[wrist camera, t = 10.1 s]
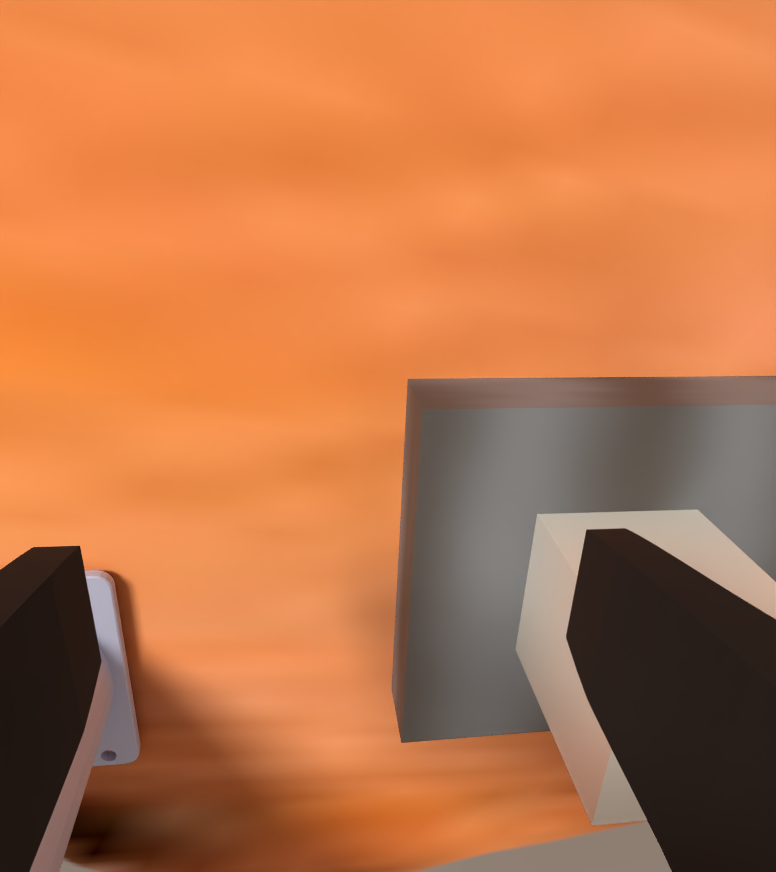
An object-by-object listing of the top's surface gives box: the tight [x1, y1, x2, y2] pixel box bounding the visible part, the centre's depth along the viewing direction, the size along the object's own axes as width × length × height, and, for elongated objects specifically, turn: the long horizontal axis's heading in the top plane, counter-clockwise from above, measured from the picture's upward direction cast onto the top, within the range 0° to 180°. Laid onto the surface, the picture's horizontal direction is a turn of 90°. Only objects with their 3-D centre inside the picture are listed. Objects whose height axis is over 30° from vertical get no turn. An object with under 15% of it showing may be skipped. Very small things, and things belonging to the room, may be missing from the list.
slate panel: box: [392, 376, 776, 743], centre depth 22 cm, size 12×12×3 cm
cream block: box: [515, 510, 776, 826], centre depth 18 cm, size 5×5×6 cm
